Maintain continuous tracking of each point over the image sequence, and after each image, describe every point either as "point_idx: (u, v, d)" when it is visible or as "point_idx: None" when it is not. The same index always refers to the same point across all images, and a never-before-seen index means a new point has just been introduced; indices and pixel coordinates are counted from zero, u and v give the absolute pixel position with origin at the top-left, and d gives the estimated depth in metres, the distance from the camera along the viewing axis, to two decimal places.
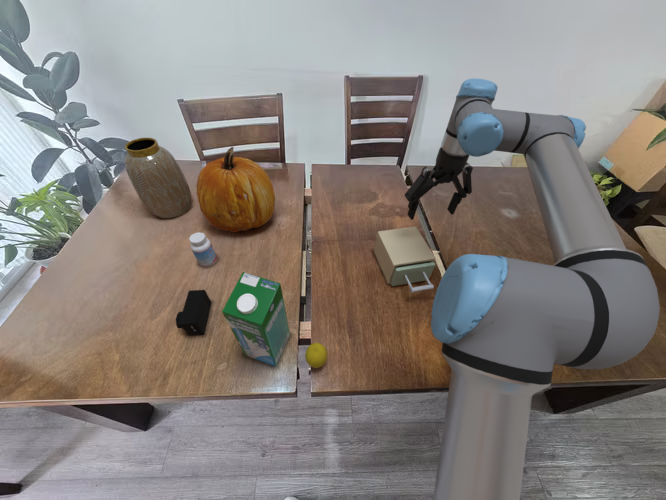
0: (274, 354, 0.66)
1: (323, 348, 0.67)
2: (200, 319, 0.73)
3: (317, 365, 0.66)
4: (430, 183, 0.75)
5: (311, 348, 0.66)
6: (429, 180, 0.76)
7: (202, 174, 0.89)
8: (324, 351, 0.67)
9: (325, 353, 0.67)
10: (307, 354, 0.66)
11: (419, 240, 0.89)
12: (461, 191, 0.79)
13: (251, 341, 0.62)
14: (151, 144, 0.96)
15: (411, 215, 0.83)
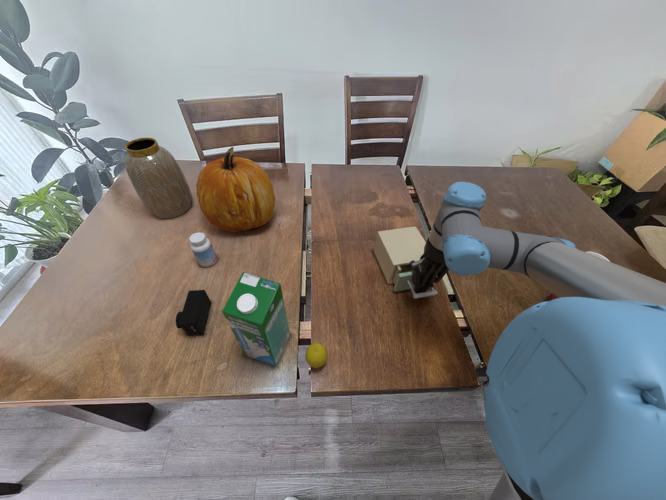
0: (274, 354, 0.66)
1: (323, 348, 0.67)
2: (200, 319, 0.73)
3: (317, 365, 0.66)
4: (425, 271, 0.73)
5: (311, 348, 0.66)
6: (424, 267, 0.74)
7: (202, 174, 0.89)
8: (324, 351, 0.67)
9: (325, 353, 0.67)
10: (307, 354, 0.66)
11: (419, 240, 0.89)
12: (432, 280, 0.77)
13: (251, 341, 0.62)
14: (151, 144, 0.96)
15: None
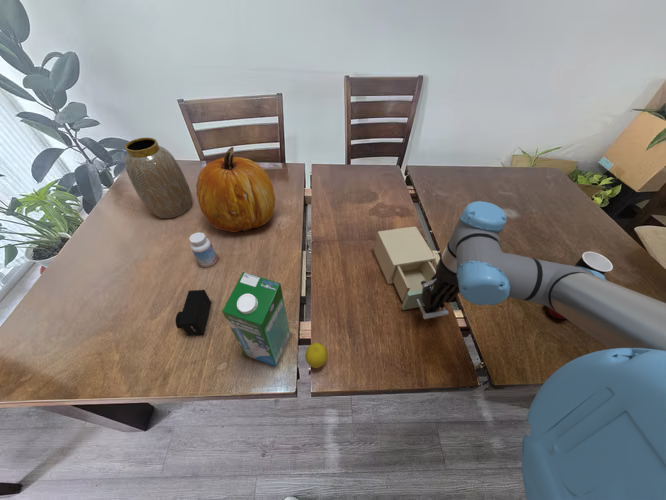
0: (274, 354, 0.66)
1: (323, 348, 0.67)
2: (200, 319, 0.73)
3: (317, 365, 0.66)
4: (437, 292, 0.69)
5: (311, 348, 0.66)
6: (435, 288, 0.70)
7: (202, 174, 0.89)
8: (324, 351, 0.67)
9: (325, 353, 0.67)
10: (307, 354, 0.66)
11: (419, 240, 0.89)
12: (443, 300, 0.72)
13: (251, 341, 0.62)
14: (151, 144, 0.96)
15: None
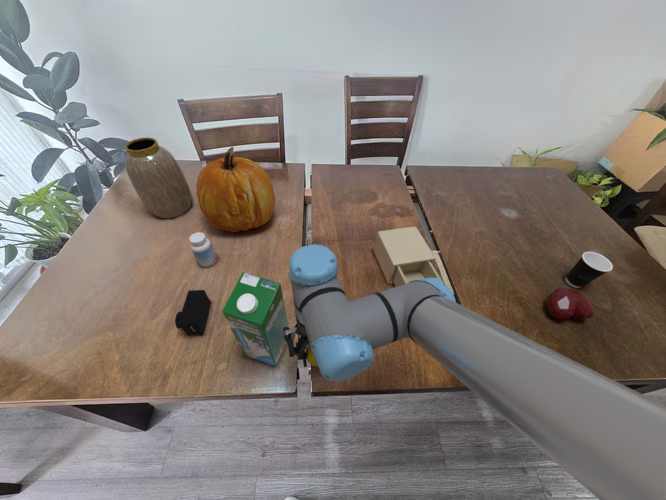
0: (274, 354, 0.66)
1: None
2: (199, 319, 0.73)
3: None
4: (303, 340, 0.59)
5: None
6: None
7: (202, 174, 0.89)
8: None
9: None
10: (307, 352, 0.64)
11: (419, 240, 0.89)
12: None
13: (251, 341, 0.62)
14: (151, 144, 0.96)
15: (303, 363, 0.67)
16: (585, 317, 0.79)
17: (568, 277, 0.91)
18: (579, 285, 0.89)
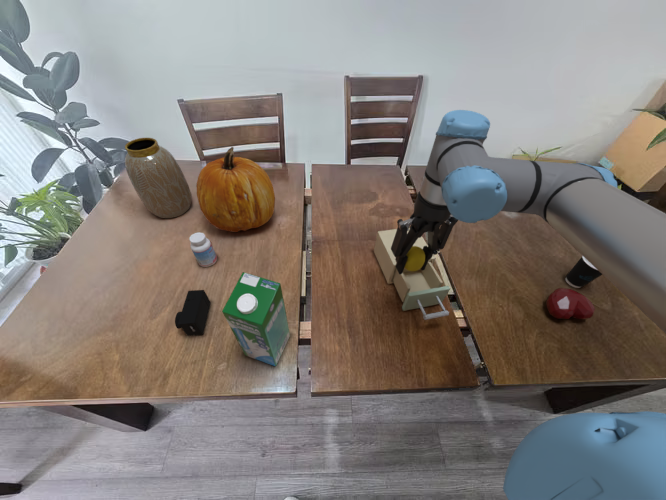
0: (274, 354, 0.66)
1: (422, 250, 0.67)
2: (199, 319, 0.73)
3: (417, 266, 0.67)
4: (412, 235, 0.61)
5: (411, 248, 0.67)
6: (411, 231, 0.62)
7: (202, 174, 0.89)
8: None
9: (424, 254, 0.67)
10: (407, 255, 0.67)
11: (419, 240, 0.89)
12: (434, 246, 0.65)
13: (251, 341, 0.62)
14: (151, 144, 0.96)
15: (399, 269, 0.70)
16: (585, 317, 0.79)
17: (568, 277, 0.91)
18: (579, 285, 0.89)
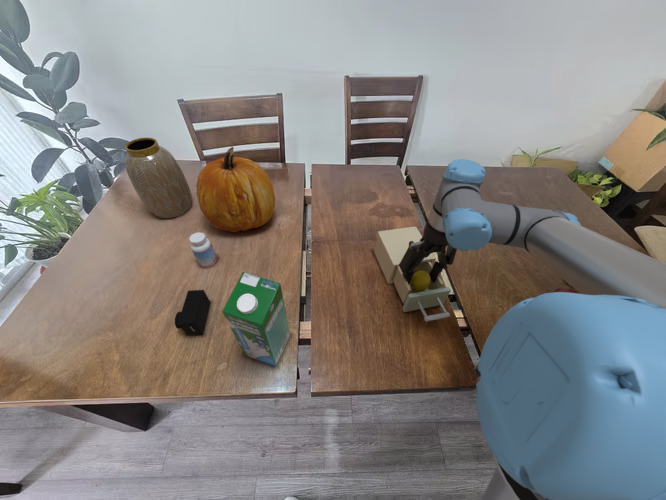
0: (274, 354, 0.66)
1: (428, 274, 0.81)
2: (199, 319, 0.73)
3: (424, 287, 0.80)
4: (420, 255, 0.72)
5: (419, 273, 0.80)
6: (419, 251, 0.72)
7: (202, 174, 0.89)
8: (429, 276, 0.81)
9: None
10: (416, 278, 0.80)
11: (419, 240, 0.89)
12: (443, 262, 0.76)
13: (251, 341, 0.62)
14: (151, 144, 0.96)
15: None
16: None
17: None
18: None
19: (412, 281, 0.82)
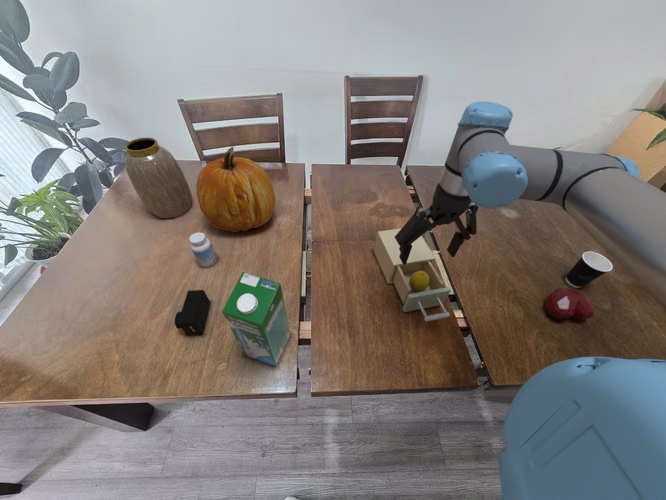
0: (274, 354, 0.66)
1: (427, 274, 0.81)
2: (199, 319, 0.73)
3: (423, 287, 0.80)
4: (426, 225, 0.61)
5: (418, 273, 0.80)
6: (425, 221, 0.62)
7: (202, 174, 0.89)
8: (428, 276, 0.81)
9: None
10: (414, 278, 0.80)
11: (419, 240, 0.89)
12: (464, 232, 0.65)
13: (251, 341, 0.62)
14: (151, 144, 0.96)
15: (403, 259, 0.68)
16: (585, 317, 0.79)
17: (568, 277, 0.91)
18: (579, 285, 0.89)
19: (411, 282, 0.82)
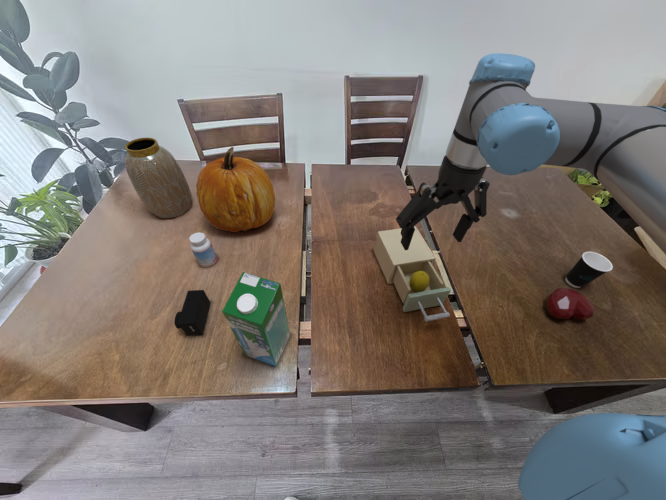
0: (274, 354, 0.66)
1: (427, 274, 0.81)
2: (199, 319, 0.73)
3: (423, 287, 0.80)
4: (430, 204, 0.55)
5: (418, 273, 0.80)
6: (429, 200, 0.55)
7: (202, 174, 0.89)
8: (428, 276, 0.81)
9: None
10: (414, 278, 0.80)
11: (419, 240, 0.89)
12: (472, 214, 0.59)
13: (251, 341, 0.62)
14: (151, 144, 0.96)
15: (405, 244, 0.62)
16: (585, 317, 0.79)
17: (568, 277, 0.91)
18: (579, 285, 0.89)
19: (411, 282, 0.82)
